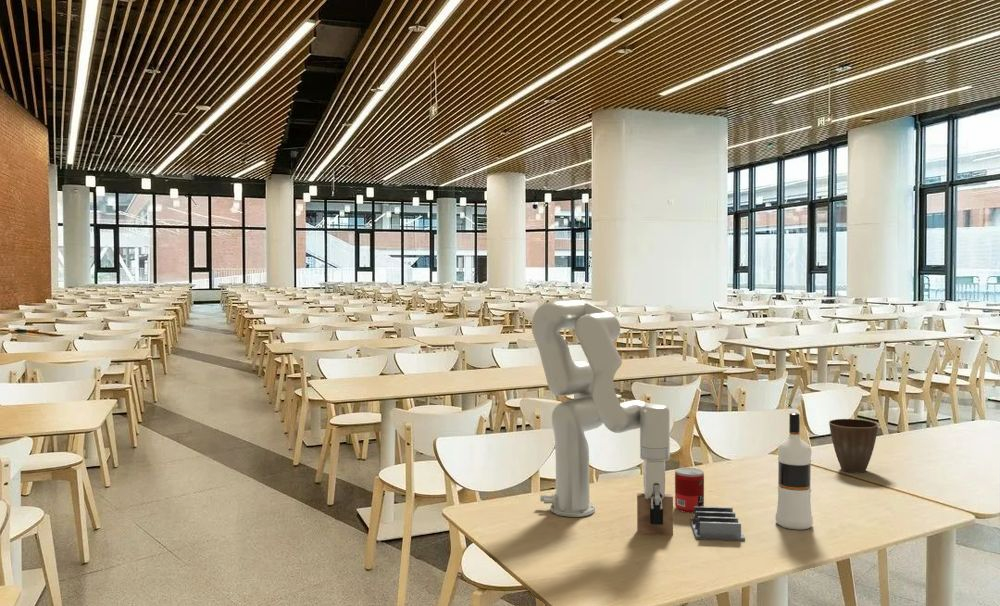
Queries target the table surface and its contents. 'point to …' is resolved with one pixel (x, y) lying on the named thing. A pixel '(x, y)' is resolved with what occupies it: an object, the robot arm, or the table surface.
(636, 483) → the table surface
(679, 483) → the canned food
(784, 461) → the vodka
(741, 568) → the table surface
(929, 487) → the table surface
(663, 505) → the board
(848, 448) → the plant pot
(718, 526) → the rack
